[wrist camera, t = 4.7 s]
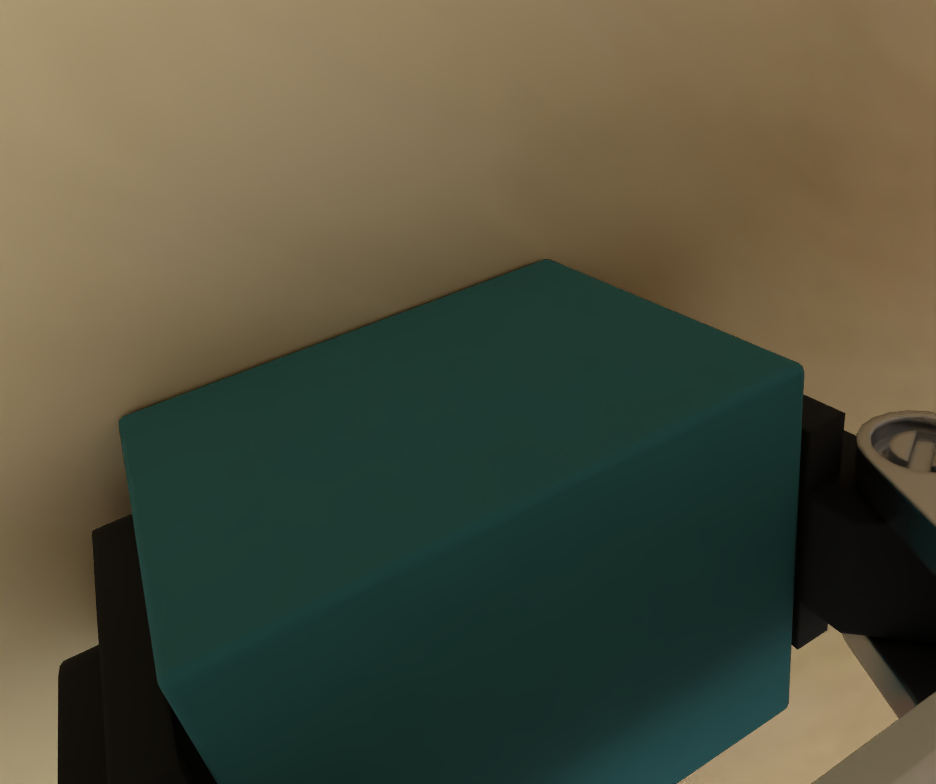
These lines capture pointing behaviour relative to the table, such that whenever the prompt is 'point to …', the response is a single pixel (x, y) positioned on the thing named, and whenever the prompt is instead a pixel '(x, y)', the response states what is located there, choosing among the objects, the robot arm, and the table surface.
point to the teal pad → (476, 544)
